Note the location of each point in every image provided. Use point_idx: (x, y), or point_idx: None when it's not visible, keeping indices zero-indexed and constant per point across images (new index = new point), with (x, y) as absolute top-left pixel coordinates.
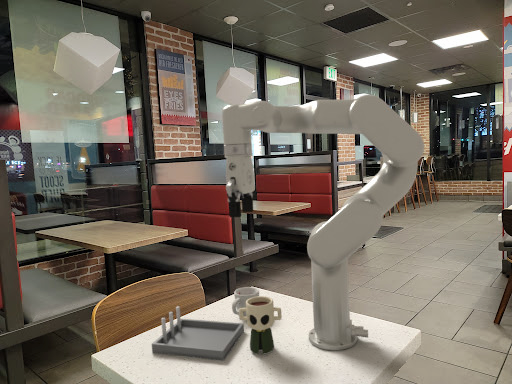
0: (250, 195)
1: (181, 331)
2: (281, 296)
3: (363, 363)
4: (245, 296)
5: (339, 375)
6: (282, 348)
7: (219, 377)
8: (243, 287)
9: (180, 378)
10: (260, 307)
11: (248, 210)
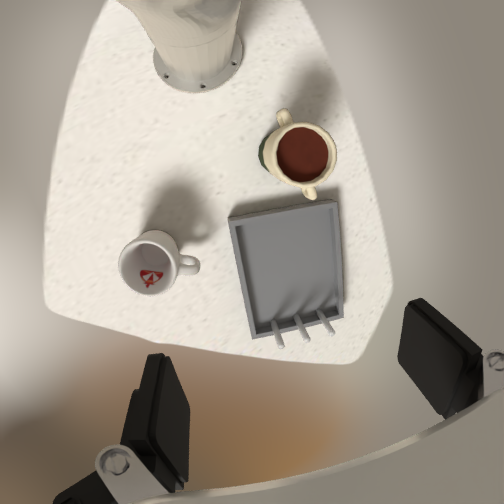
0: (148, 470)
1: (275, 316)
2: (50, 232)
3: (260, 2)
4: (173, 256)
5: (304, 26)
6: (261, 122)
7: (367, 182)
8: (130, 288)
9: (381, 231)
10: (332, 140)
11: (175, 381)
